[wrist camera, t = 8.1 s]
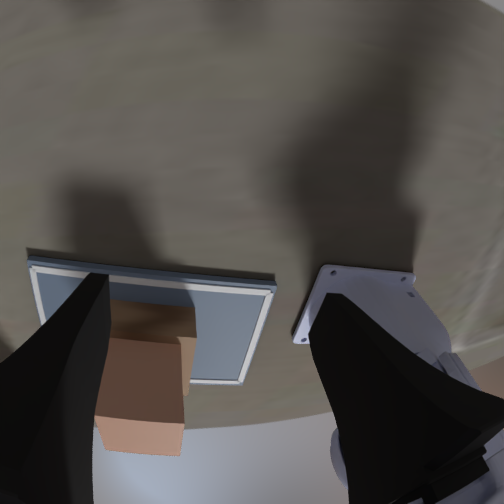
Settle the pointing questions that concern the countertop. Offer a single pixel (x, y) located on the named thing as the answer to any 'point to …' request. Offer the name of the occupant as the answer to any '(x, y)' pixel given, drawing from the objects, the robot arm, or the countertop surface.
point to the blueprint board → (176, 294)
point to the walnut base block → (157, 328)
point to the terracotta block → (141, 398)
